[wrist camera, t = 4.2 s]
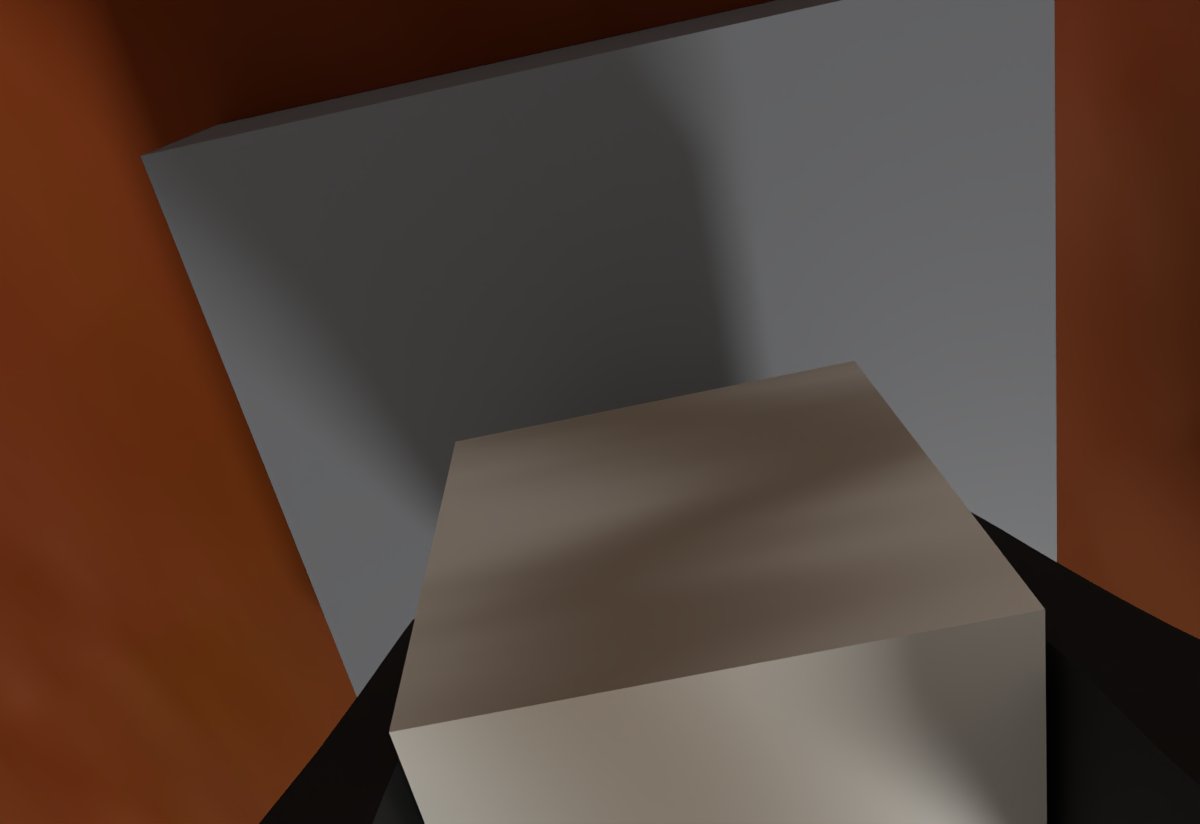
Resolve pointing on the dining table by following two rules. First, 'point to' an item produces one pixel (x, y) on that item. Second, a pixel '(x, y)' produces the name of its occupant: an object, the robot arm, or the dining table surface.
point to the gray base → (633, 259)
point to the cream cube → (720, 625)
